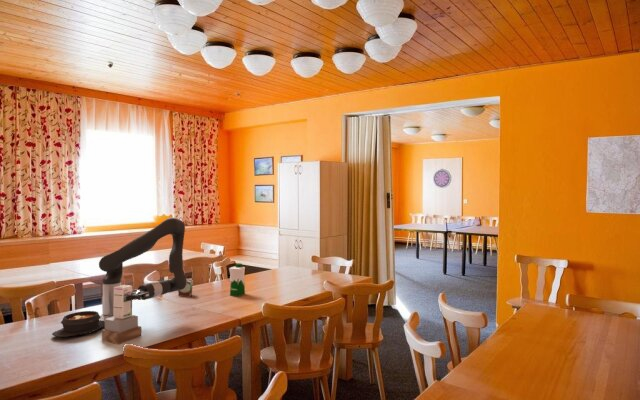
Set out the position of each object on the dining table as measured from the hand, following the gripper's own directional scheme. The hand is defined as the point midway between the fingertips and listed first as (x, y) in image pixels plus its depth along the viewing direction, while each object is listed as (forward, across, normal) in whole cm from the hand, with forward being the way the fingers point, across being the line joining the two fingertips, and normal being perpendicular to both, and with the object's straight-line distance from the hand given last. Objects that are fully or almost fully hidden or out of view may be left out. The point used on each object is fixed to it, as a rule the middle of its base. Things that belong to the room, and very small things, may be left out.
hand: (120, 297), depth 195 cm
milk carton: (-90, -8, +19) cm, 92 cm away
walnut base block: (-1, 0, +20) cm, 20 cm away
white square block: (-1, -1, +14) cm, 15 cm away
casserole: (+3, -26, +19) cm, 33 cm away
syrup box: (-1, 0, +10) cm, 10 cm away
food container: (-74, -37, +19) cm, 84 cm away
